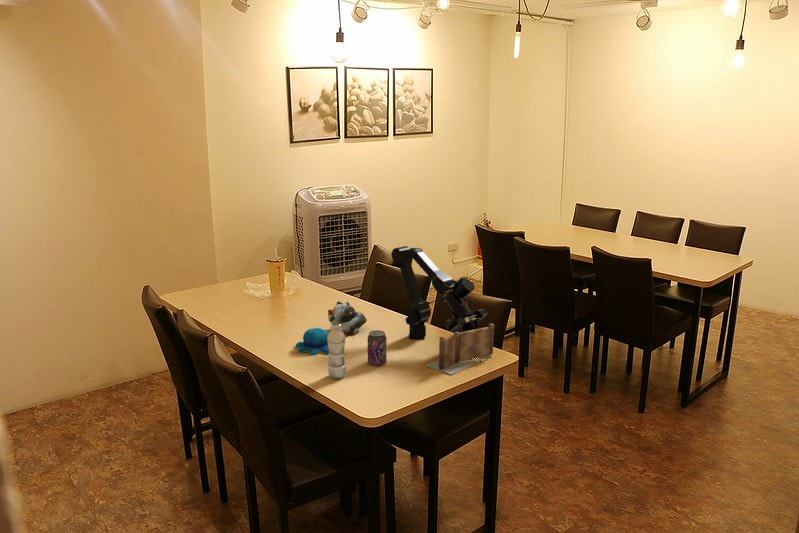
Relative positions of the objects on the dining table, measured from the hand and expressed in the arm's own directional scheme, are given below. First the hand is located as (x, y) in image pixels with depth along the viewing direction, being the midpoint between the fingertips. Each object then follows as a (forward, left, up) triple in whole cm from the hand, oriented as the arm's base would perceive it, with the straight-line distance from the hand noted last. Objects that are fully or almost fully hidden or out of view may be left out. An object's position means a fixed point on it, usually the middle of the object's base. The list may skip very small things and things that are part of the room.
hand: (479, 338), depth 243 cm
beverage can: (-39, -9, -8) cm, 40 cm away
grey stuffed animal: (-55, +26, -8) cm, 62 cm away
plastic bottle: (-52, -23, -8) cm, 57 cm away
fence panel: (-1, -2, -7) cm, 7 cm away
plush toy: (-64, +5, -8) cm, 65 cm away
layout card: (-7, -5, -8) cm, 12 cm away
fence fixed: (-12, -10, -7) cm, 17 cm away
